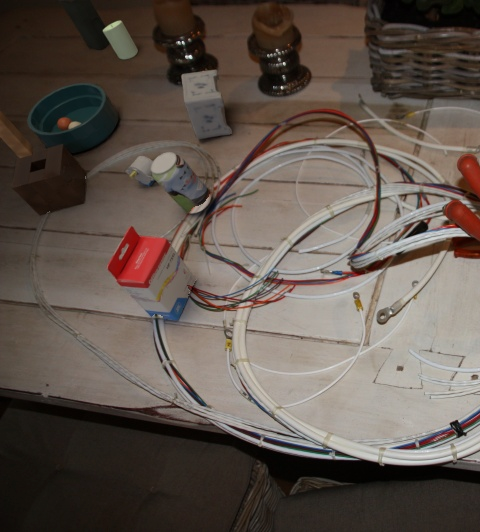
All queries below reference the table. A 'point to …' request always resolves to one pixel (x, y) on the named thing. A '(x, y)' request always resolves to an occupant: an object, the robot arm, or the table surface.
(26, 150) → the stirring stick
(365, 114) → the table surface
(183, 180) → the beverage can
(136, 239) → the ink box
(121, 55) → the candle
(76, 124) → the cream ball
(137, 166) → the electric motor
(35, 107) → the bowl
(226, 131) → the white printed box
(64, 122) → the terracotta ball
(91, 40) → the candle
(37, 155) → the holder
